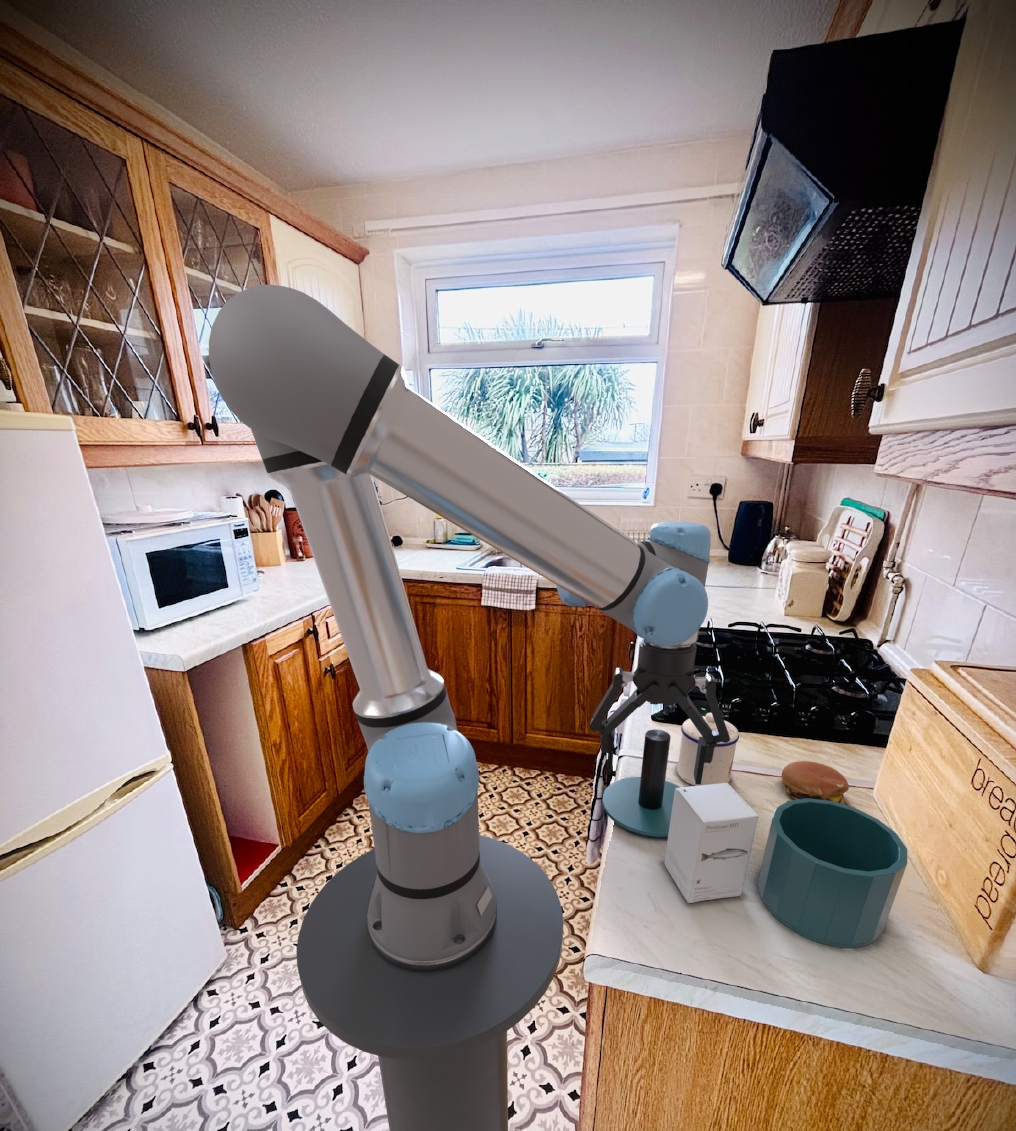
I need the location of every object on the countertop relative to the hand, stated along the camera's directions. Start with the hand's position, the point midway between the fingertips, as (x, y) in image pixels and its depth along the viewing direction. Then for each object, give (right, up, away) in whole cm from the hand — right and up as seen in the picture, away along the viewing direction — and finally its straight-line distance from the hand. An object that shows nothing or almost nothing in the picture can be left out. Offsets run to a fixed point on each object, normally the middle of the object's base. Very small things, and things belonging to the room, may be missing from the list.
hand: (652, 774), depth 82 cm
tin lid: (0, -5, +2) cm, 6 cm away
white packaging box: (+3, -12, -11) cm, 17 cm away
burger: (+27, -5, +6) cm, 28 cm away
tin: (+17, -13, -15) cm, 26 cm away
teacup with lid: (+12, -2, +13) cm, 17 cm away
